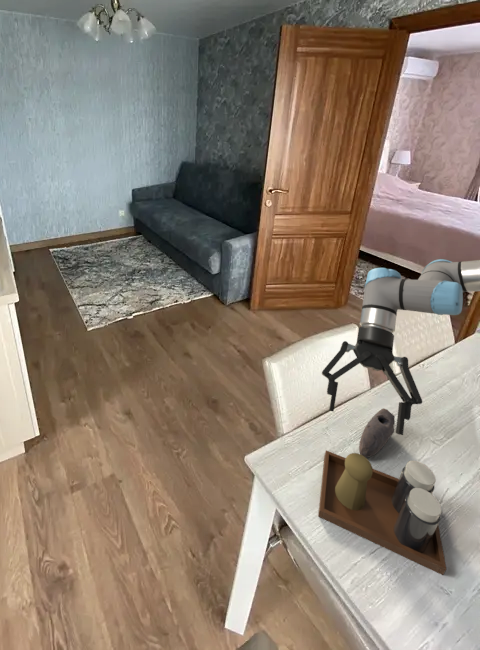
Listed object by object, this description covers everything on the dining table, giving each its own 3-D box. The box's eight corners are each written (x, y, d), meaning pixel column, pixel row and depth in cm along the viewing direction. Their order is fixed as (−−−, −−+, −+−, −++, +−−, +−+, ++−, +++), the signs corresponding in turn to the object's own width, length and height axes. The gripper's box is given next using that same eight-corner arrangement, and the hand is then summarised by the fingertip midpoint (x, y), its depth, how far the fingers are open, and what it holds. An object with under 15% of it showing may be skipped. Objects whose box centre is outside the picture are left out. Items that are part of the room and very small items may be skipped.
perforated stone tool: (369, 469, 82) (376, 449, 79) (347, 453, 86) (353, 433, 83) (395, 435, 90) (402, 415, 88) (375, 421, 94) (380, 402, 92)
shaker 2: (424, 529, 70) (440, 494, 66) (428, 559, 65) (446, 524, 61) (392, 515, 72) (406, 481, 68) (394, 543, 67) (409, 508, 63)
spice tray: (428, 499, 76) (432, 492, 75) (442, 577, 63) (446, 569, 62) (324, 457, 85) (325, 450, 84) (317, 518, 72) (319, 510, 71)
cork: (338, 476, 80) (347, 442, 76) (367, 492, 76) (378, 458, 72) (331, 498, 75) (341, 464, 71) (362, 516, 72) (374, 481, 68)
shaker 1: (419, 500, 75) (434, 466, 71) (423, 526, 70) (440, 491, 66) (390, 488, 77) (403, 454, 73) (392, 513, 73) (406, 478, 68)
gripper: (432, 347, 82) (425, 443, 75) (320, 320, 92) (305, 402, 85) (444, 342, 75) (436, 446, 69) (322, 313, 86) (305, 401, 79)
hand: (364, 422), depth 77 cm, fingers open, 13 cm apart
